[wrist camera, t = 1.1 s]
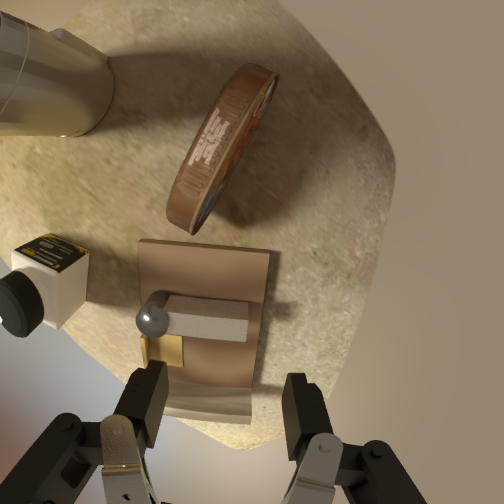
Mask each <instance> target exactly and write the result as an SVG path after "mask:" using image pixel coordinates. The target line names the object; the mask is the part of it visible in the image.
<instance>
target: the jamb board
mask: <svg viewBox="0 0 504 504" xmlns="http://www.w3.org/2000/svg"><path fill="white" fill-rule="evenodd" d="M269 256H270V253H269V250H264V249H252V248H241V247H230V246H219V245H208V244H197V243H185V242H174V241H163V240H151V239H141V240H140V241H138V264H139V282H140V296H141V308H142V307H143V305H144V303H145V302H146V300H147V299H148V297H149V296H150V294H151V293H153V292H155V291H165V292H167V293H169V294H170V295H177V296H185V297H194V298H204V299H214V300H225V301H236V302H248V327H247V336H246V342H240V341H228V340H217V339H208V338H199V337H190V336H182V335H174V334H167V333H165V335H164V336H162V337H159V338H151V337H148V336H146V335H144V334H143V333H142V335H141V337H140V342H141V349H142V356H143V362H144V368H145V369H146V367H147V365H148V362H149V360H150V359H153V360H159V361H165V362H166V363H167V370H168V379H169V393H168V397H167V401H166V404H165V408H164V411H163V415H167V416H173V417H179V418H185V419H192V420H200V421H209V422H219V423H231V424H248V425H250V423H251V418H252V404H251V386H252V379H253V373H254V366H255V359H256V352H257V345H258V338H259V331H260V324H261V317H262V309H263V302H264V294H265V287H266V279H267V272H268V264H269Z"/></svg>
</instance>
